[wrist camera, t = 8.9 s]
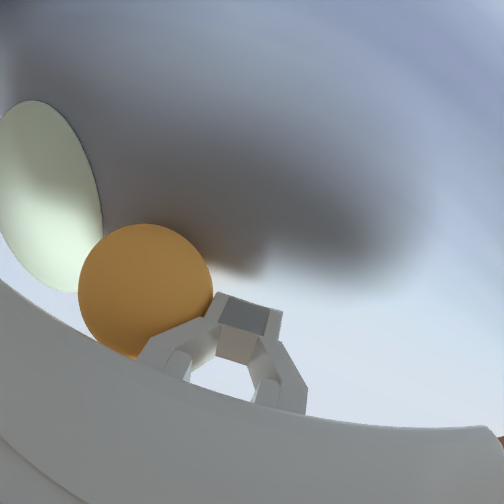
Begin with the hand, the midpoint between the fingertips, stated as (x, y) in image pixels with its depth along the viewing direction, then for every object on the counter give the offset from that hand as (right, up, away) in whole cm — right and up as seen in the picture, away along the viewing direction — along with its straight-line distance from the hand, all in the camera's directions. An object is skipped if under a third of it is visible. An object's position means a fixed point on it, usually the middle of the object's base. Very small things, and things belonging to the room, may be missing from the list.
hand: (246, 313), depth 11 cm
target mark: (-14, +5, +2) cm, 15 cm away
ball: (-4, +1, 0) cm, 4 cm away
